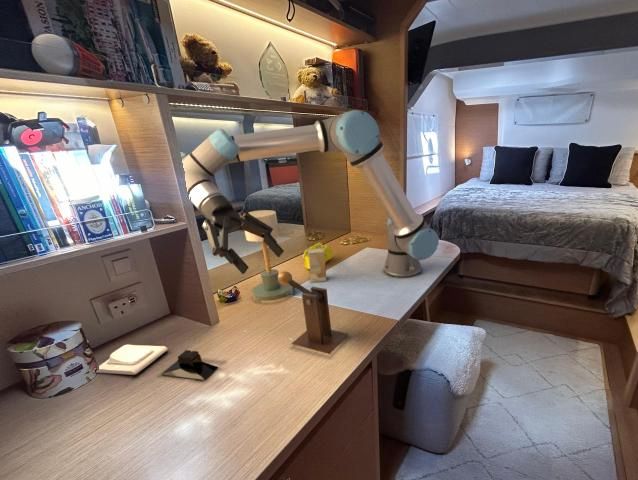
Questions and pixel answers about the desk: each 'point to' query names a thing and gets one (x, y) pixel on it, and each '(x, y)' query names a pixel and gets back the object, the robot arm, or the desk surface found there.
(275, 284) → the lamp
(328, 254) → the yellow toy chassis
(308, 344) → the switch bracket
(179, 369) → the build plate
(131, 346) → the light switch
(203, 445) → the desk surface
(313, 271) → the cosmetic box
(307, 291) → the lever with ball knob
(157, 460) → the desk surface
